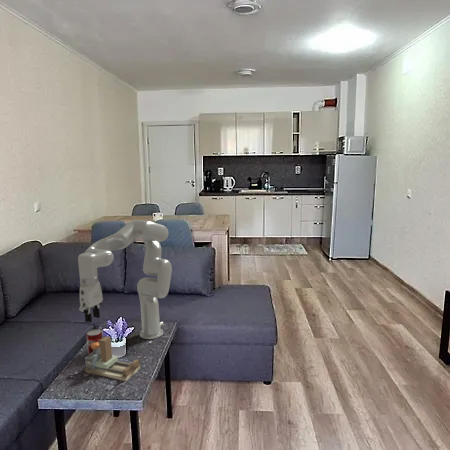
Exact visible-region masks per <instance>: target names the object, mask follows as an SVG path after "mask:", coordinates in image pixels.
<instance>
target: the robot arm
mask: <svg viewBox="0 0 450 450" xmlns="http://www.w3.org/2000/svg"><path fill="white" fill-rule="evenodd" d="M168 237H169V230H168V228H167V227H166V226H165V225H163V224H161V223H157V222H154V221H150V220H145V219H143V220H142V219H133V220H131V221H129V222H128V223H127V224H126V225H124V226H123V227H121V228H120V229H119V230H118V231H117V232H115V233H114V234H111V235H108V236H106V237H104V238H102V239H99V240H98V241H95V242H94V243H92V245H90V246H89V247H88V248H87V249H86V250H85V252H83V253H80V254H78V257H77V263H78V272H79V273H78V274H79V284H80V285H79V305H80V306H79V308H78V311H80V312H82V313H83V314H84V320H85V322H86V323H92V322H93V319H92V316H93V318H99V319H100V318H101V315H100V308H101V305H102V302H103V301H104V299H103V292H102V286H101V283H100V281H99V275H98V268H103V267H108V266H110V265H111V264H112V263H113V261H114V260H115V259H114V257H115V256H114V254H113V252H114V251H119V250H123V249H126V248H128V247H129V246H130V245H131V244H132V243H133V242H134V241H135V240H137V239H138V238H140V239H141V240H142V241H143V244H144V247H145V251H144V259H143V260H144V261H143V266H142V271H143V274H145V275H147V276H152V277H143V278H142V277H141V278H140V280H138V282H137V285H136V288H137V289H136V290H137V293H138V297H139V302H140V303H139V305H140V316H141V318H140V321H141V331H140V332H139V337H140V338H142V339H144V340H153V339H158V338H160V337H161V336H163V334H164V330H163V329H162V326H164V321H160V309H159V307H160V304H159V301H158V299H165V298H166V297H167V296H168V294H169V290H170V286H171V279H172V273H173V269H172V268H173V267H172V264H171V262H170V260H168V259H166V258H162V246H161V243H160V242H164V241H166V240H167V239H168ZM153 277H157V278H153ZM91 308H92V313H91ZM92 314H93V315H92Z"/></svg>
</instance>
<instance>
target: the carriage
mask: <svg viewBox="0 0 450 450" xmlns="http://www.w3.org/2000/svg"><path fill="white" fill-rule="evenodd" d="M99 341H100V352H101V359H100V360H99V361H97V362H96V367H100V368H104V369H108V368H109V367H110V366H112V365H113V364H114V363H115V362H117V361H119V356H118V355H113V349H112V348H113V347H112V338H111V337H110V336H103V338H102V339H101V340H99Z"/></svg>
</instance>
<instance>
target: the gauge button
mask: <svg viewBox="0 0 450 450" xmlns="http://www.w3.org/2000/svg"><path fill="white" fill-rule="evenodd" d="M98 348H99V343H98V342H94V343H92V344H91V349H93V354H98Z"/></svg>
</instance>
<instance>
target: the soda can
mask: <svg viewBox="0 0 450 450" xmlns="http://www.w3.org/2000/svg"><path fill="white" fill-rule="evenodd" d="M102 338H104V336H103V330H101V329H91V330H89V331H87V333H86V345H87V355H89V354H90V353H92V352H93V349H91V344H92V343H94V342H98V343H99V347H100V341H99V340H101V339H102Z"/></svg>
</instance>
